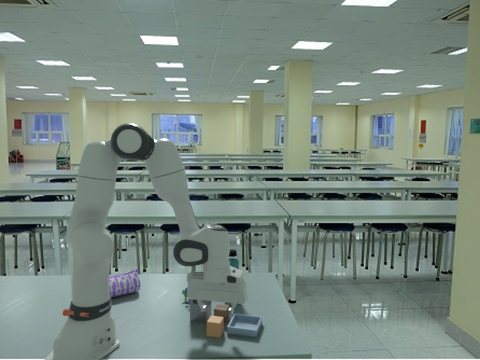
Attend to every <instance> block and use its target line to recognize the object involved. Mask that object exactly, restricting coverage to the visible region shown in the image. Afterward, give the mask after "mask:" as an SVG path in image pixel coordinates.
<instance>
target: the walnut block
mask: <svg viewBox="0 0 480 360" xmlns="http://www.w3.org/2000/svg"><path fill="white" fill-rule="evenodd" d="M229 308H230V304H225V303H217V304H216V305H215V306H214V308H213V316H219V317H224V325H226V324H227V323H228V321H229V319H230V315H228V313H229V312H228V309H229Z"/></svg>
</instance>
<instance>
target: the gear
mask: <svg viewBox="0 0 480 360" xmlns="http://www.w3.org/2000/svg"><path fill="white" fill-rule="evenodd" d="M181 295H183V297H184V303H187V301H188V300H187V298H188V297H187V287H185V288H184V289H182V291H181Z"/></svg>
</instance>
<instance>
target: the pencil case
mask: <svg viewBox="0 0 480 360" xmlns="http://www.w3.org/2000/svg"><path fill="white" fill-rule="evenodd" d="M140 290H141V281H140V277H139V274H138V269H137V268H135V269H134V270H133V269H131V270H129V271H127V272H124V273H120V274H115V275H112V276H109V295H110V297H111V299H113V298H115V297H120V296H124V295H129V294H133V293H137V292H139V291H140Z"/></svg>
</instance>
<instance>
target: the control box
mask: <svg viewBox="0 0 480 360" xmlns="http://www.w3.org/2000/svg"><path fill="white" fill-rule="evenodd" d="M202 302H203V304H204V305H206V306H207V307H206V308H207V310H206V312H201V307H200V306H199V304H198V303H197V300H195V299H189V322H192V323H197V324H198V323H200V324H206V325H207V321H208V319H209V318H210V316H212V301H206V300H203V301H202Z"/></svg>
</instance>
